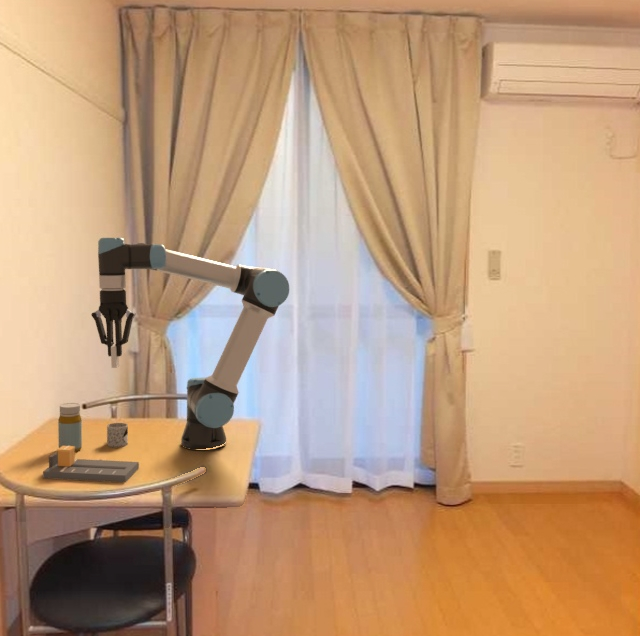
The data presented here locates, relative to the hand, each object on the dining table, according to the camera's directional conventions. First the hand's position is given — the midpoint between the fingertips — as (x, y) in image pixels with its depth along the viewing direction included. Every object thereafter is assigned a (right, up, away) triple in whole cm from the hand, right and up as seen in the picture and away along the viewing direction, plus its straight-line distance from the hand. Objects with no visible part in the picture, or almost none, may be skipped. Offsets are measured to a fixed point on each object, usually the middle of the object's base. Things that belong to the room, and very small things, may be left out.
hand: (115, 366), depth 205 cm
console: (-5, -31, -6) cm, 32 cm away
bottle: (-19, -28, +15) cm, 37 cm away
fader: (-13, -28, -6) cm, 32 cm away
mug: (-7, -28, +24) cm, 37 cm away
